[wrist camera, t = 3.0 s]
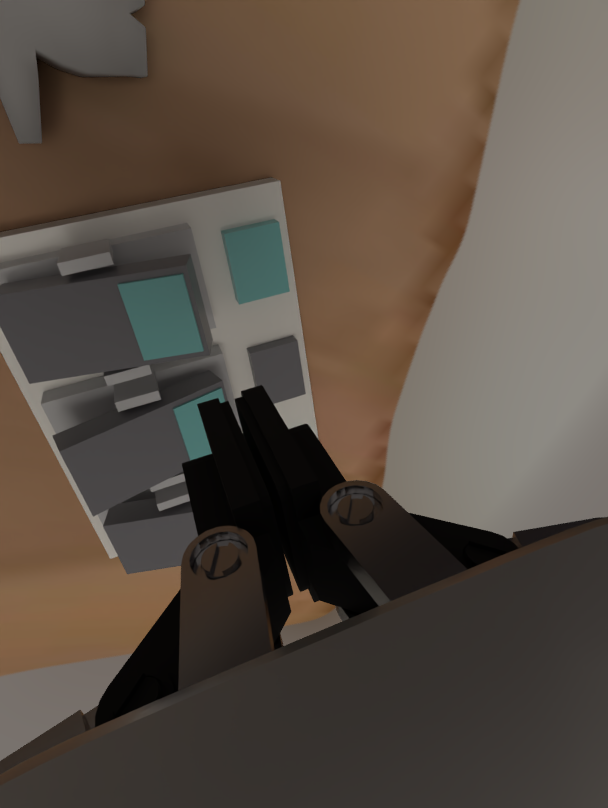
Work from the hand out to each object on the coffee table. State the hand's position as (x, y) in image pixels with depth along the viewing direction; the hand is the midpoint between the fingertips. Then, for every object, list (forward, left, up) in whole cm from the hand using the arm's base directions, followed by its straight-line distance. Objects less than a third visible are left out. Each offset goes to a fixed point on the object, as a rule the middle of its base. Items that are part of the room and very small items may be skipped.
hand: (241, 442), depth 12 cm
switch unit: (+6, -1, -16) cm, 18 cm away
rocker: (+13, -3, -11) cm, 18 cm away
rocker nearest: (0, -3, -11) cm, 12 cm away
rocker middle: (+6, -3, -11) cm, 14 cm away
